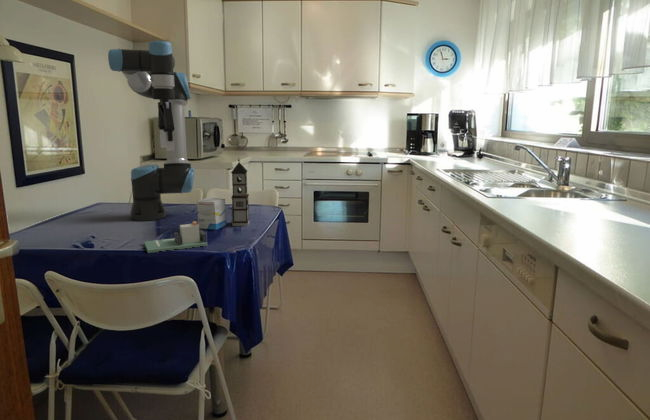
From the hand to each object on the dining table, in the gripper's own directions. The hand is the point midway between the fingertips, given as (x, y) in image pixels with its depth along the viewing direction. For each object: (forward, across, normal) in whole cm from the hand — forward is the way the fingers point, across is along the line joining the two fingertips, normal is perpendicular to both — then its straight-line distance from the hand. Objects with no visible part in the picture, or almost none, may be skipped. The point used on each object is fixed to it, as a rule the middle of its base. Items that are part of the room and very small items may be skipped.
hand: (167, 149), depth 165 cm
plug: (+32, +10, +4) cm, 34 cm away
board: (+33, +9, -1) cm, 35 cm away
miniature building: (+34, -12, +30) cm, 46 cm away
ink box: (+34, -12, +18) cm, 40 cm away
